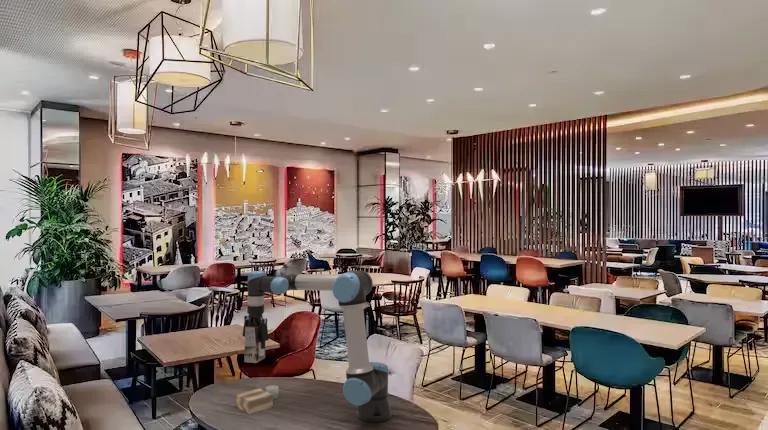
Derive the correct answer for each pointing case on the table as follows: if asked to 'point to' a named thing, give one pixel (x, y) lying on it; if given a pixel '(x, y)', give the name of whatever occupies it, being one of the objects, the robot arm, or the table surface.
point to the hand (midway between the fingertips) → (255, 354)
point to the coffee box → (252, 344)
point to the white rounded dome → (273, 391)
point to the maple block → (254, 400)
